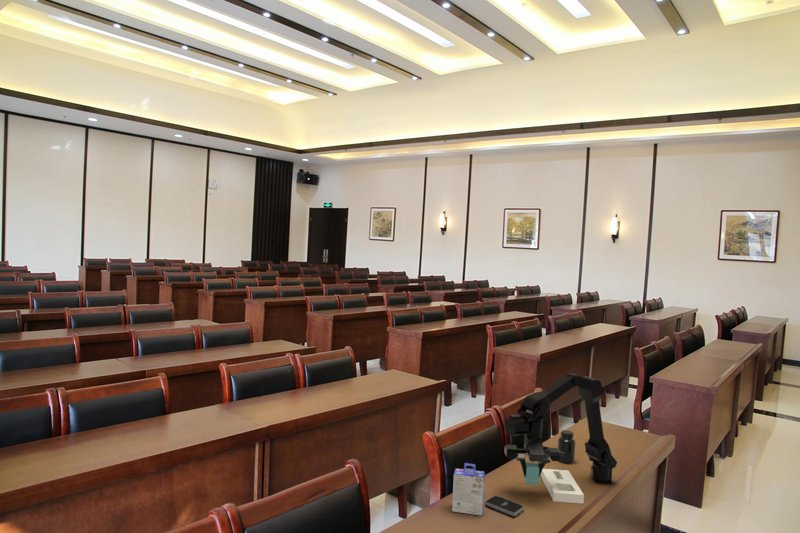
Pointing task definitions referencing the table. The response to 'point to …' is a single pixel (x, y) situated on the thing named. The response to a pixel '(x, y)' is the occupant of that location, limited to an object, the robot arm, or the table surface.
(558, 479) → the socket plate
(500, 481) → the table surface
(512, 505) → the external hard drive
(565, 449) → the supplement bottle
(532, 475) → the square peg
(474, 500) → the ink cartridge box
